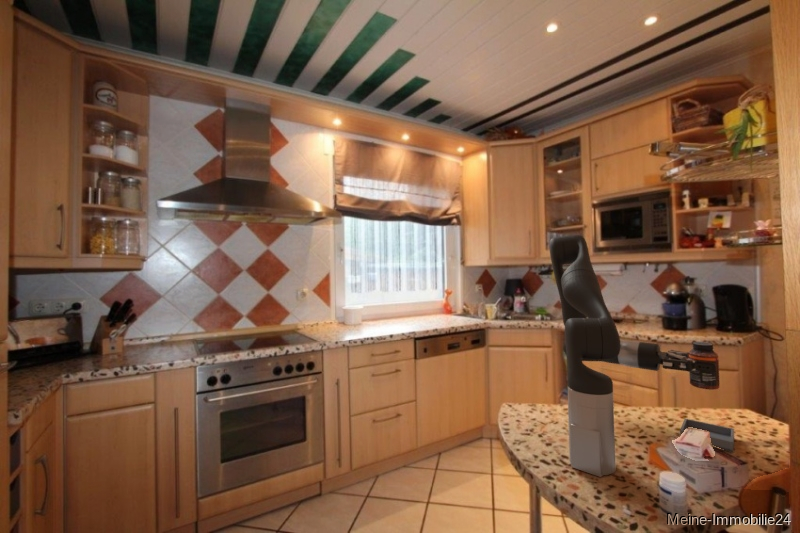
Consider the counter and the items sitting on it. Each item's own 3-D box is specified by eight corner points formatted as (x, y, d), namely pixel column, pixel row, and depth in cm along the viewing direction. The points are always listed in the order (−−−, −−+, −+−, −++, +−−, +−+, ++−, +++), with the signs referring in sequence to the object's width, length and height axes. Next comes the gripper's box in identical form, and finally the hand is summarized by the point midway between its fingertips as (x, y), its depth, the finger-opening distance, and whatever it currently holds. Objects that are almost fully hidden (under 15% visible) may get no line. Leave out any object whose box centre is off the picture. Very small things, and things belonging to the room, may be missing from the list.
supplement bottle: (707, 383, 95) (706, 340, 95) (726, 390, 89) (724, 345, 89) (683, 382, 95) (683, 340, 96) (700, 390, 90) (699, 345, 90)
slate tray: (733, 452, 85) (733, 442, 85) (680, 439, 92) (680, 430, 92) (734, 438, 92) (733, 428, 92) (685, 427, 99) (684, 418, 99)
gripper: (632, 346, 97) (714, 355, 85) (643, 338, 107) (717, 345, 96) (633, 373, 97) (715, 386, 85) (644, 362, 107) (718, 373, 96)
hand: (716, 365), depth 91 cm, fingers closed on supplement bottle, 6 cm apart
